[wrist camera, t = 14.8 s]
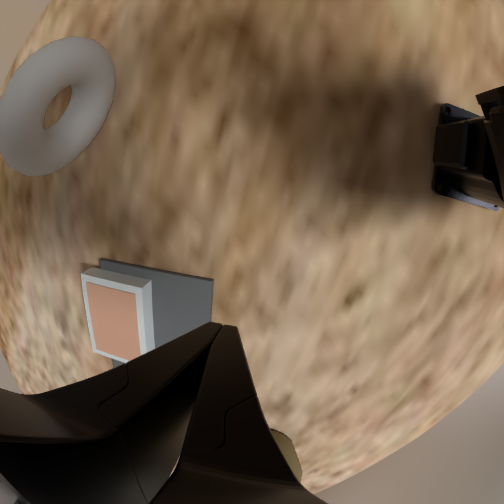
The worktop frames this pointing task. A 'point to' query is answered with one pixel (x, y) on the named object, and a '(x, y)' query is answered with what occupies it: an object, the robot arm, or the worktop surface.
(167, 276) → the mat
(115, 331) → the tile
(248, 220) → the worktop surface
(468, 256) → the worktop surface
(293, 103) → the worktop surface
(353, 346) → the worktop surface
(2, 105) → the donut
